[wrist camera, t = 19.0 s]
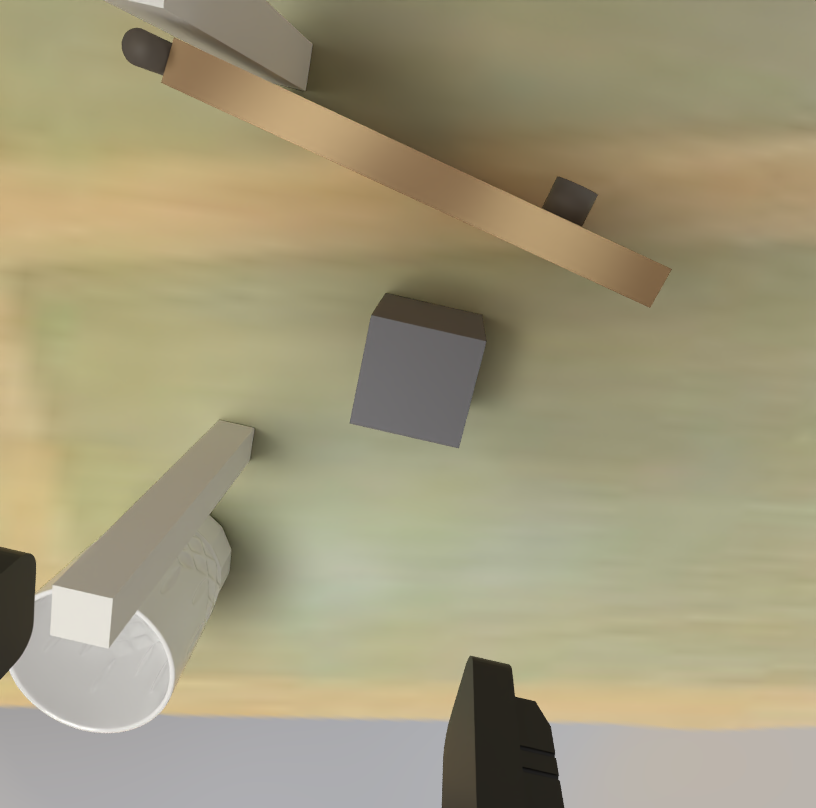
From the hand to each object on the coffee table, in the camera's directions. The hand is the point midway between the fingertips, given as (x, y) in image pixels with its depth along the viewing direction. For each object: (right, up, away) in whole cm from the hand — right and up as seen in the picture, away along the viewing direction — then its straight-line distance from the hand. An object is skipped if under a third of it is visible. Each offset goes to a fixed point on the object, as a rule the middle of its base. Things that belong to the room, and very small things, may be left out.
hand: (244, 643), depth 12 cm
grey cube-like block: (+4, +7, +23) cm, 24 cm away
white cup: (-11, -4, +28) cm, 30 cm away
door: (+4, +16, +20) cm, 26 cm away
